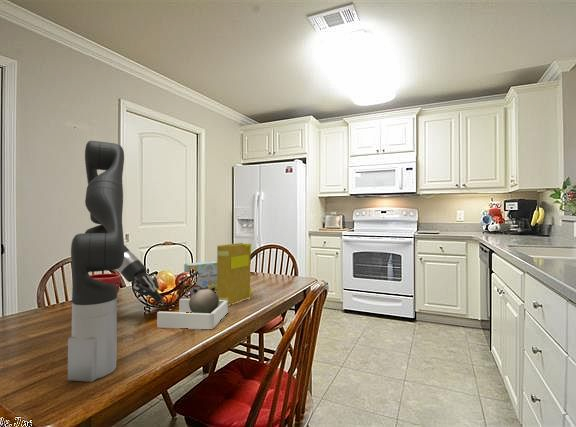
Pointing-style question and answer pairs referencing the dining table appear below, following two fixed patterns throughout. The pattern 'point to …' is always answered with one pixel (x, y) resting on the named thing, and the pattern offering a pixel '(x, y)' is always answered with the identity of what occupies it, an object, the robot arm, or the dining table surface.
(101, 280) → the plant pot
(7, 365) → the dining table surface
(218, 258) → the book
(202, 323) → the box
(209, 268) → the snack box
